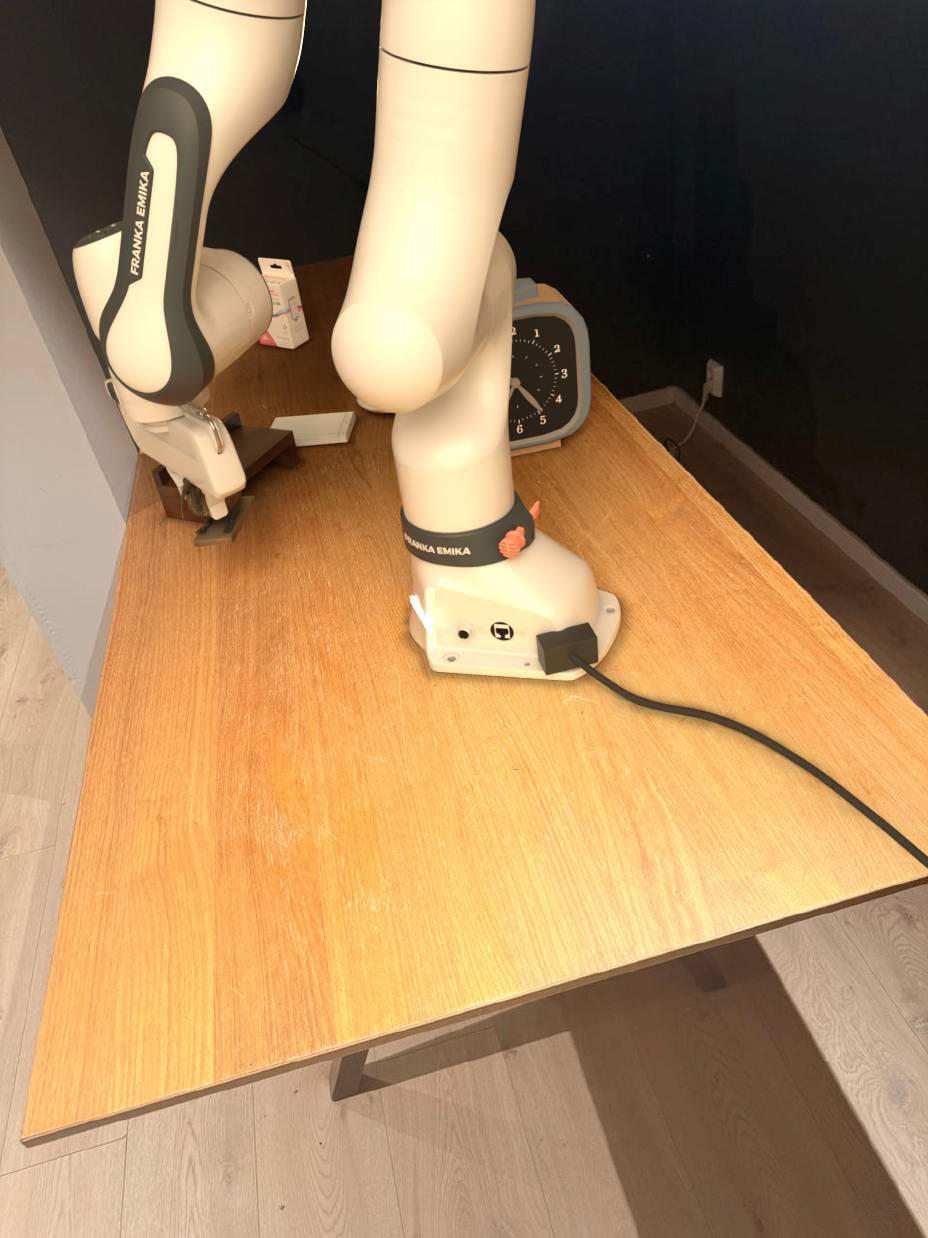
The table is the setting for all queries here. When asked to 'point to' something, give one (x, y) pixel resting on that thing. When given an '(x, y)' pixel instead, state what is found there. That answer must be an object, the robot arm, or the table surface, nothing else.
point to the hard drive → (318, 427)
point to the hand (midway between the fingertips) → (205, 506)
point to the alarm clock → (546, 369)
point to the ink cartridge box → (283, 306)
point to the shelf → (252, 451)
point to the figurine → (223, 527)
